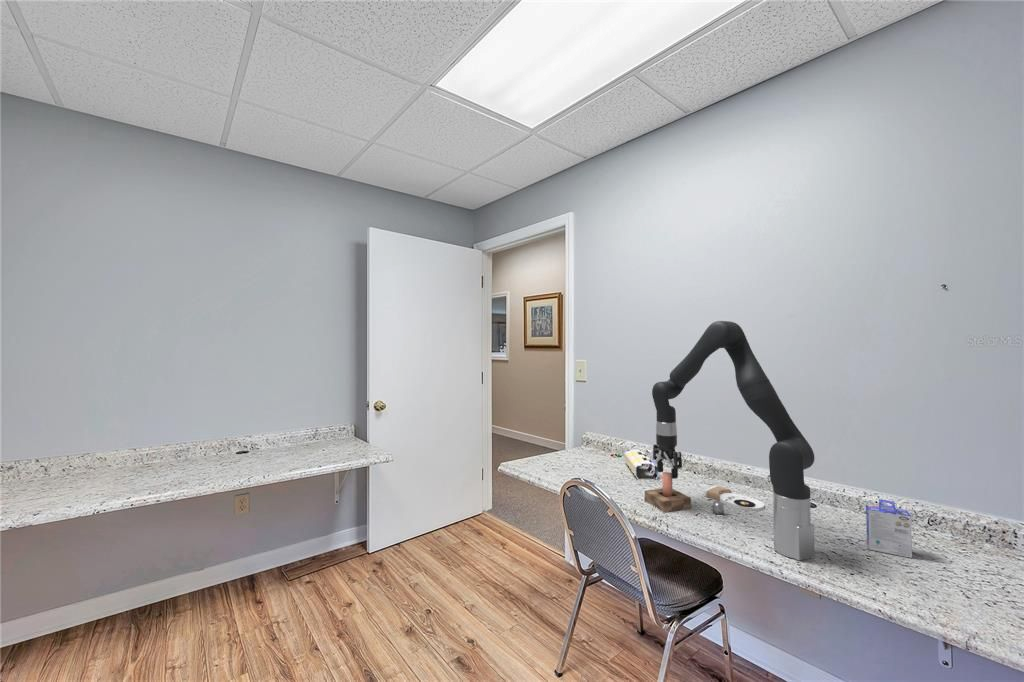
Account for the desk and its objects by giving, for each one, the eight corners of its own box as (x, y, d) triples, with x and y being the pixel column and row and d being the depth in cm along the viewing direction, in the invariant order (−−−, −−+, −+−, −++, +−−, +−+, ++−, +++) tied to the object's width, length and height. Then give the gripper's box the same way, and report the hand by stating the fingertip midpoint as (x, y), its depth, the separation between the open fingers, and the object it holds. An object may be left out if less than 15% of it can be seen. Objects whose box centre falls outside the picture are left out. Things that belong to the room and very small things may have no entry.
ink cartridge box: (908, 550, 124) (907, 502, 124) (913, 559, 120) (913, 508, 120) (865, 542, 130) (864, 496, 130) (868, 550, 125) (868, 501, 125)
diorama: (658, 480, 189) (658, 452, 190) (635, 480, 190) (635, 451, 190) (644, 464, 214) (644, 439, 214) (624, 464, 215) (624, 439, 215)
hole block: (691, 508, 157) (690, 497, 157) (663, 512, 154) (663, 501, 154) (670, 497, 169) (670, 487, 169) (644, 500, 165) (644, 490, 165)
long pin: (674, 505, 160) (674, 474, 160) (666, 507, 159) (666, 475, 159) (668, 502, 163) (668, 471, 163) (660, 503, 162) (660, 472, 162)
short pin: (726, 515, 151) (725, 504, 151) (717, 516, 150) (717, 505, 150) (718, 511, 154) (718, 500, 154) (710, 512, 153) (710, 501, 153)
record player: (717, 484, 175) (769, 499, 159) (717, 491, 175) (769, 507, 159) (702, 490, 168) (755, 506, 152) (702, 498, 168) (755, 515, 152)
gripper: (687, 436, 155) (688, 479, 155) (663, 428, 169) (663, 469, 169) (670, 437, 153) (671, 481, 153) (647, 430, 167) (647, 470, 167)
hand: (667, 475), depth 161 cm, fingers open, 8 cm apart
